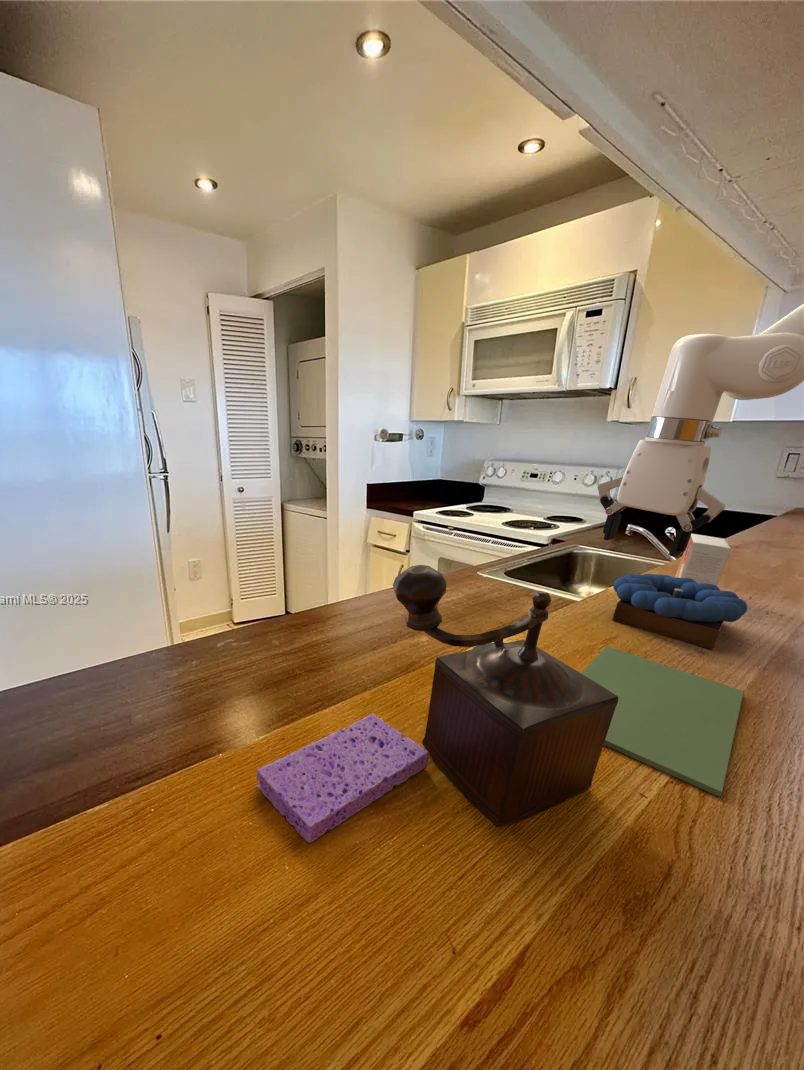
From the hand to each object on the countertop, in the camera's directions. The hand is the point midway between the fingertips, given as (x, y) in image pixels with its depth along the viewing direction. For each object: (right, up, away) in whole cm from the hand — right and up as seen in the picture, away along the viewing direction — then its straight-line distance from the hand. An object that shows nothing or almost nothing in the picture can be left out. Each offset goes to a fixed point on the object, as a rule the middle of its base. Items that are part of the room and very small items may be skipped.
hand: (640, 546), depth 75 cm
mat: (-13, -20, -23) cm, 33 cm away
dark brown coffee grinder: (-35, -23, -34) cm, 54 cm away
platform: (+4, -12, -1) cm, 13 cm away
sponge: (-46, -23, -36) cm, 63 cm away
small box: (+16, -8, +12) cm, 22 cm away
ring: (+4, -9, -2) cm, 10 cm away
